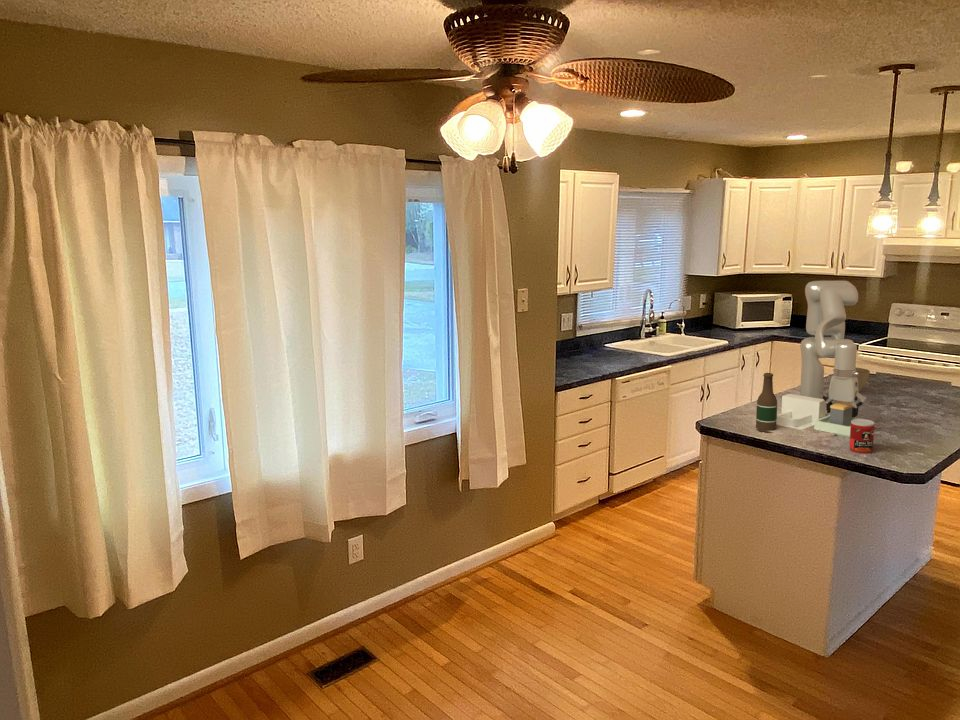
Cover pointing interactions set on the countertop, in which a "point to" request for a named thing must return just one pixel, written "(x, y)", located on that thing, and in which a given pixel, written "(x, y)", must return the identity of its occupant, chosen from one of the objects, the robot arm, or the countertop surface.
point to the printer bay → (800, 411)
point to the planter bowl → (862, 377)
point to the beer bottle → (766, 406)
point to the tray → (832, 427)
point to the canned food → (861, 436)
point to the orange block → (841, 413)
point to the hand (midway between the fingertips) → (841, 414)
